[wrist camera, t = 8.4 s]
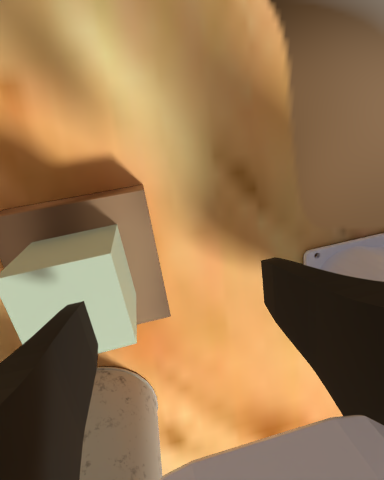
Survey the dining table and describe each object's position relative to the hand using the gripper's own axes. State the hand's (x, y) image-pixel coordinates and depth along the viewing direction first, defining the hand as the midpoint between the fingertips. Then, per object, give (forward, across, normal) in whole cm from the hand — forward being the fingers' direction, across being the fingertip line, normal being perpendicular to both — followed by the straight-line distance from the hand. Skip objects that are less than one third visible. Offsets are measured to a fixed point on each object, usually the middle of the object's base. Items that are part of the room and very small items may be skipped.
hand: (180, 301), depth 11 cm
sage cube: (+7, +5, +1) cm, 9 cm away
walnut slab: (+10, +5, +1) cm, 11 cm away
